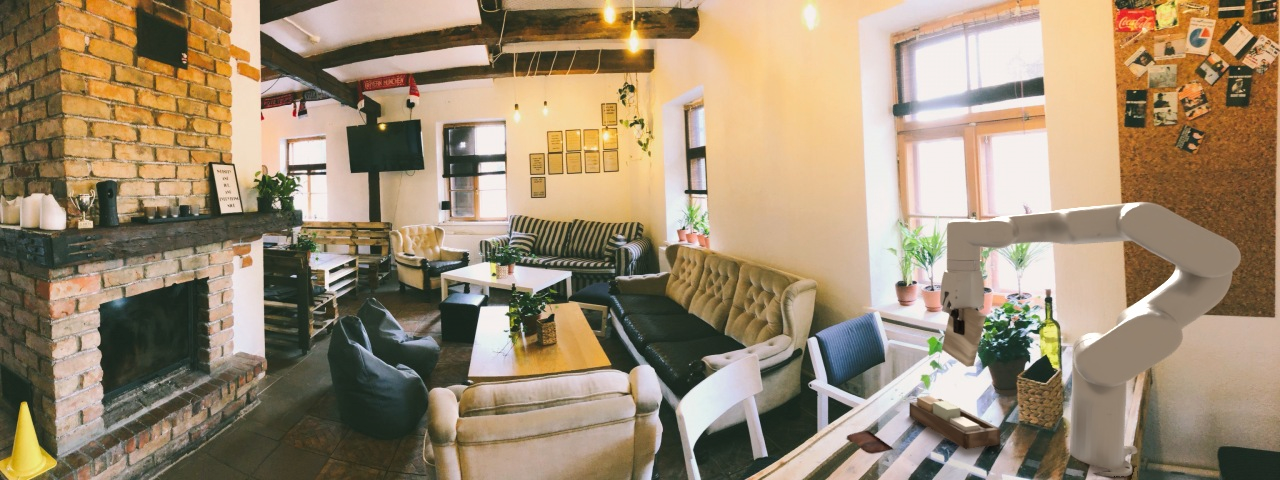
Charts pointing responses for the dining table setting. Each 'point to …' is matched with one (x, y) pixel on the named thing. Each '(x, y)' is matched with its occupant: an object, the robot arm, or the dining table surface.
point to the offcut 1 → (926, 402)
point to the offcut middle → (946, 410)
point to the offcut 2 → (964, 424)
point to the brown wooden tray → (967, 440)
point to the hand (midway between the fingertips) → (962, 332)
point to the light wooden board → (964, 337)
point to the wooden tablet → (868, 441)
